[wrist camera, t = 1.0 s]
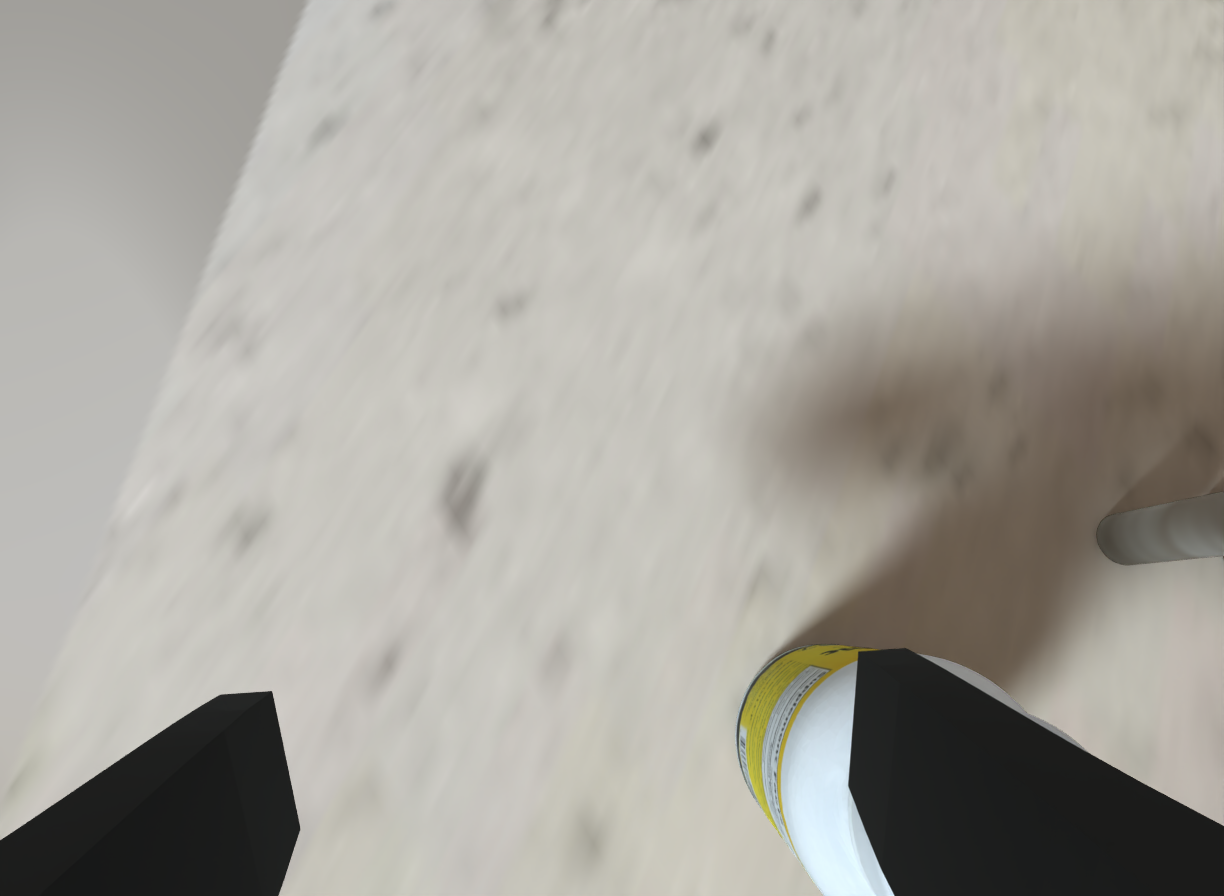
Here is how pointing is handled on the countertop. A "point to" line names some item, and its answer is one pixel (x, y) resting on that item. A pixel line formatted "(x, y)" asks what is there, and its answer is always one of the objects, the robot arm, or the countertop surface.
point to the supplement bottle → (820, 760)
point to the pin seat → (1165, 532)
